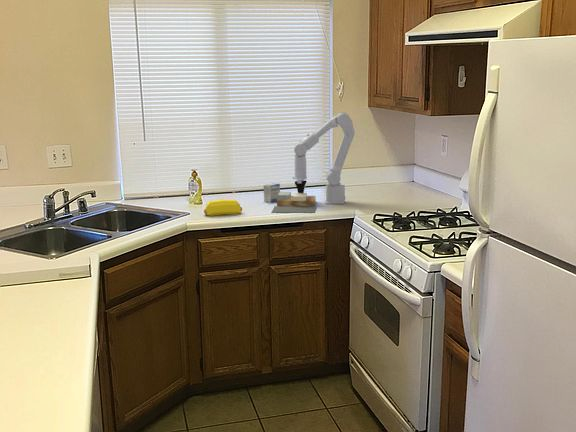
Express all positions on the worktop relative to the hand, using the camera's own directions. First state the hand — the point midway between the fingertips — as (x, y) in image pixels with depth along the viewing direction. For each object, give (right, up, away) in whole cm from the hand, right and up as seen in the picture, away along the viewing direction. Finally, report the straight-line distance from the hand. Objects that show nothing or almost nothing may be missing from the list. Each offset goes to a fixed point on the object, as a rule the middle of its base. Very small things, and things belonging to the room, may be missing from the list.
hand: (300, 195), depth 319 cm
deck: (-2, -4, -2) cm, 5 cm away
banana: (-36, -10, -21) cm, 43 cm away
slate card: (-8, -1, -1) cm, 8 cm away
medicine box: (-14, -3, +8) cm, 16 cm away
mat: (-3, -7, -15) cm, 17 cm away
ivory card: (-1, -2, -5) cm, 6 cm away
